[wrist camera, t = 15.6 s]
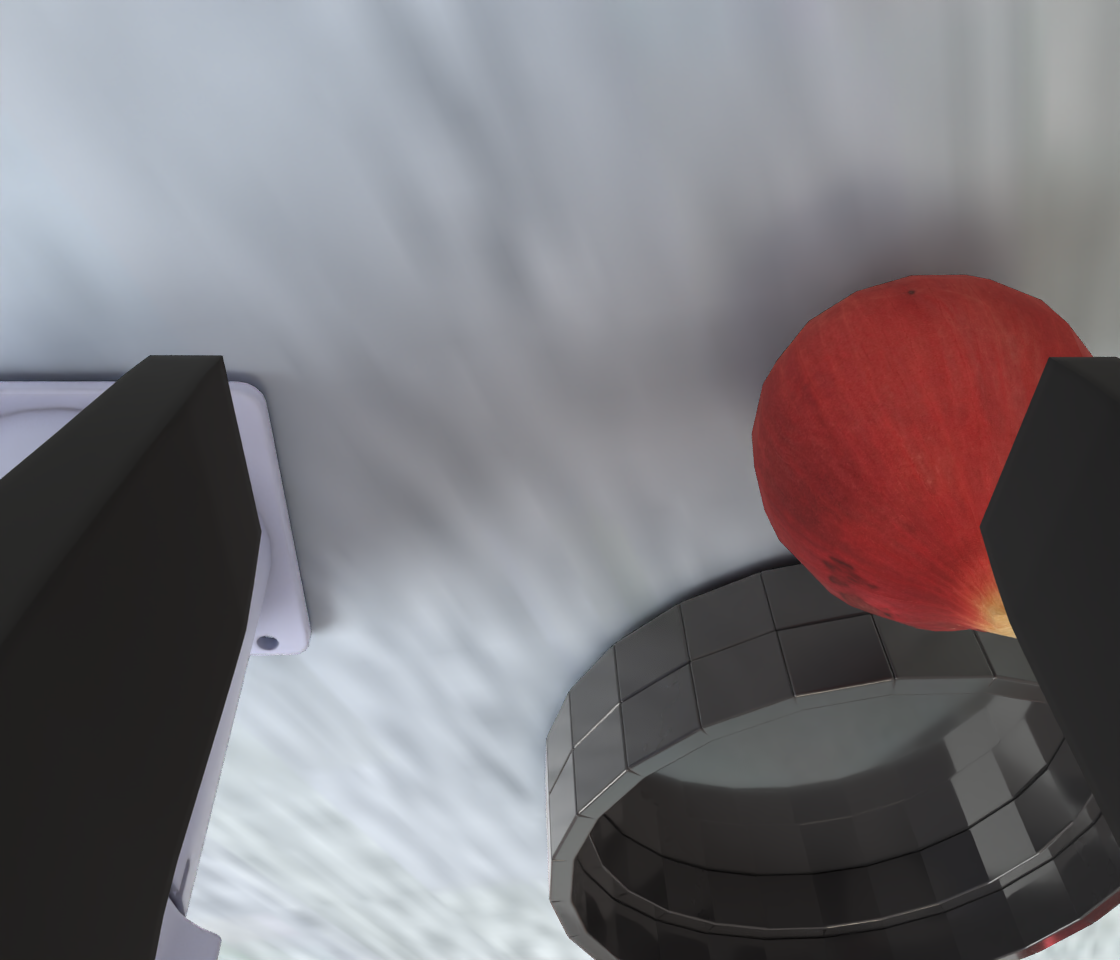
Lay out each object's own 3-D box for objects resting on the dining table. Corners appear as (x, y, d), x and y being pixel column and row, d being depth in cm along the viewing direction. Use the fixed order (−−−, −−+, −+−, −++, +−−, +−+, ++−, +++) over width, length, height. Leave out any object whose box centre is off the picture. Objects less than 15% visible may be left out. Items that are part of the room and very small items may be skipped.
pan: (540, 889, 34) (543, 1013, 31) (551, 547, 24) (559, 683, 21) (1006, 877, 35) (1053, 997, 32) (1217, 541, 25) (1317, 671, 22)
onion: (965, 444, 22) (1139, 755, 16) (706, 447, 22) (784, 764, 16) (1055, 195, 18) (1326, 479, 12) (743, 194, 18) (863, 484, 12)
